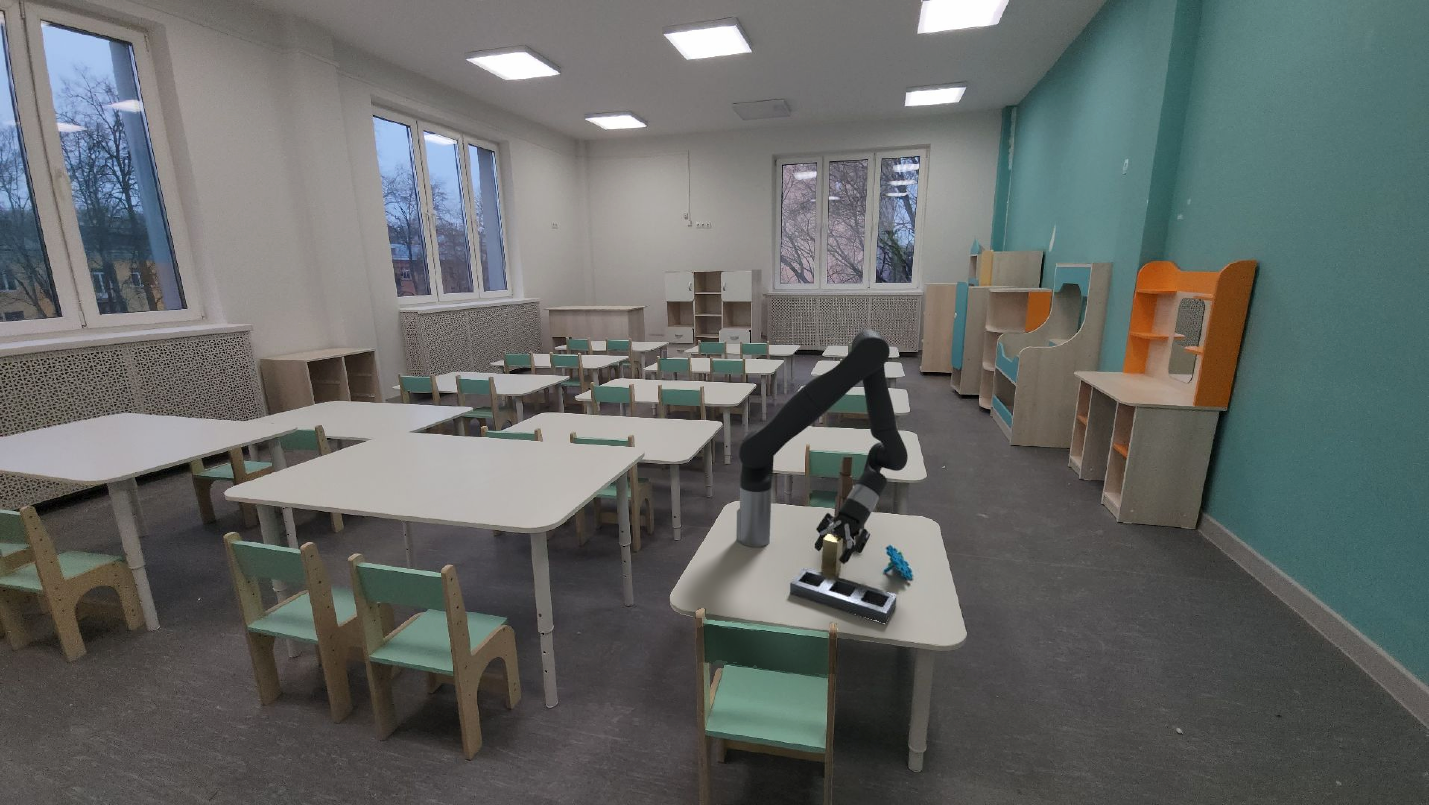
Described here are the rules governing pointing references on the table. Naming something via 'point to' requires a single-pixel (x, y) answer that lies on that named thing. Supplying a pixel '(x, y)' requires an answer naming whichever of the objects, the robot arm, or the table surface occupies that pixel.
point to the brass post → (831, 554)
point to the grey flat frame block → (848, 604)
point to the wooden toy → (844, 487)
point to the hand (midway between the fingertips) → (829, 555)
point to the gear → (898, 562)
